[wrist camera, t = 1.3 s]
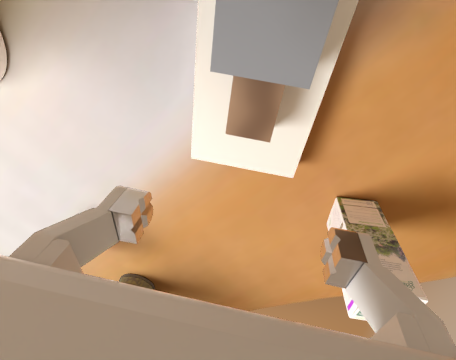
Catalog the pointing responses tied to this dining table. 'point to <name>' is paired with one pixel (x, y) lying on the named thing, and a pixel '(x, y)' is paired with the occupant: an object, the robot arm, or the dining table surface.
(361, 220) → the syrup box
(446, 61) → the dining table surface
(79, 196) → the dining table surface
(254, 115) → the bar
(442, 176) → the dining table surface
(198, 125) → the board
